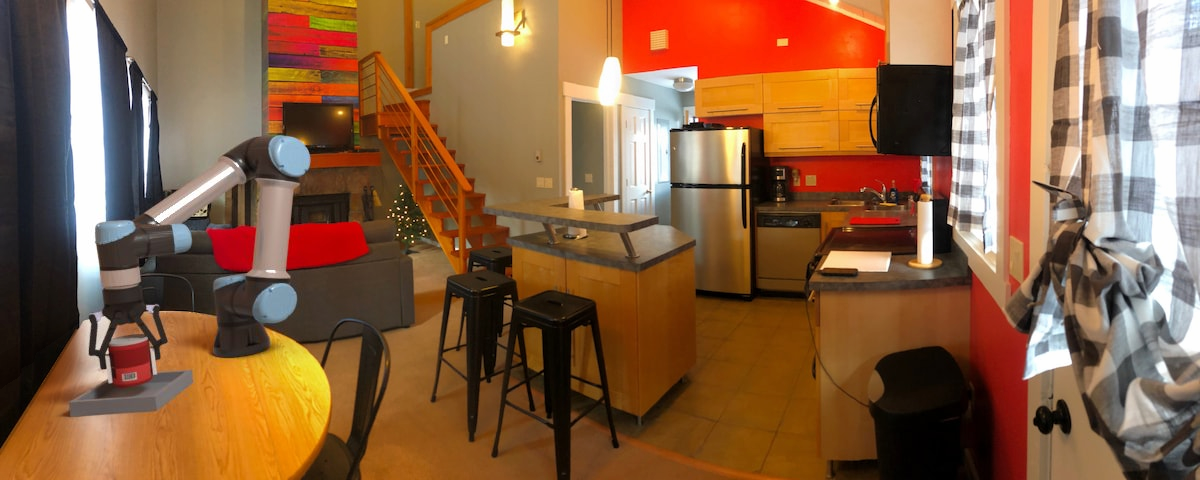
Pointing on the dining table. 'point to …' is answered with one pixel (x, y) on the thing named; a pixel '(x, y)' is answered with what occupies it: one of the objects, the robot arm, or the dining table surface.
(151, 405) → the tray
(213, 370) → the dining table surface
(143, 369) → the canned food
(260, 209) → the robot arm
